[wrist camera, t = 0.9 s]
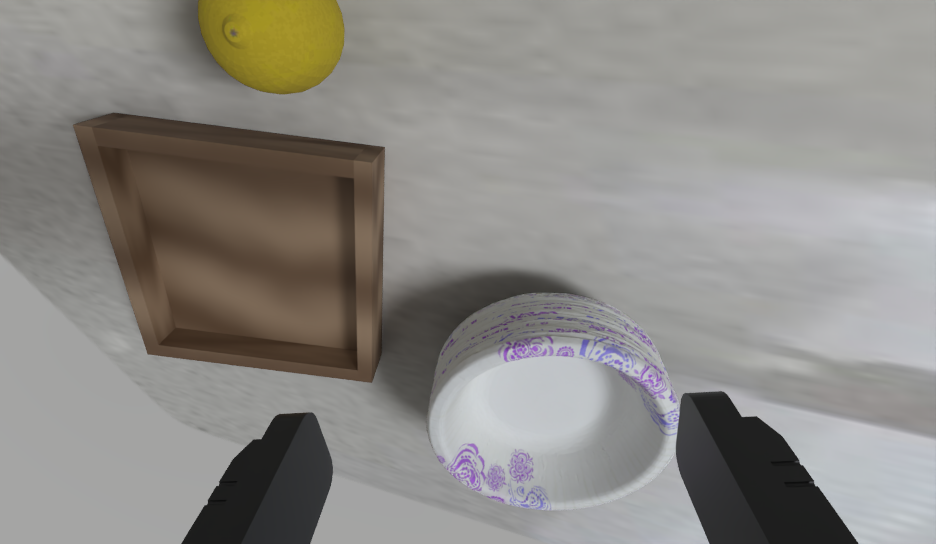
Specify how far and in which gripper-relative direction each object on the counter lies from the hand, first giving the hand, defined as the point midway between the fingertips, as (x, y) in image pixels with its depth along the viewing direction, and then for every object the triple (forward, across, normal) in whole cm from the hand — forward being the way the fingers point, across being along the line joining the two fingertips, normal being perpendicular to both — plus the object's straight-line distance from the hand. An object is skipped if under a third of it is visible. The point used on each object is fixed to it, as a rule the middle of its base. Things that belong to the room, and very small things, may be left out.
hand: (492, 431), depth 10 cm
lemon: (+20, +9, -9) cm, 23 cm away
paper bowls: (+20, -2, +14) cm, 25 cm away
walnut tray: (+20, +16, +3) cm, 26 cm away
